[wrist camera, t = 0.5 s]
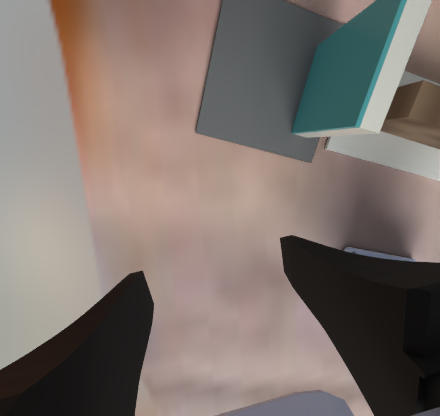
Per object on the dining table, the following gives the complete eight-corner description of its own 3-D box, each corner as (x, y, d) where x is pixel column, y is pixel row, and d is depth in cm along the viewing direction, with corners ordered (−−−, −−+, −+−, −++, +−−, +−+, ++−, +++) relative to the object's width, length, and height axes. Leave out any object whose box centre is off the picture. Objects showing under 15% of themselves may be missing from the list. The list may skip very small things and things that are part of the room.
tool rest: (520, 117, 23) (526, 117, 22) (480, 192, 25) (485, 193, 24) (356, 55, 19) (359, 53, 19) (324, 149, 21) (326, 149, 20)
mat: (353, 31, 18) (355, 29, 18) (309, 162, 21) (311, 162, 21) (226, -20, 16) (227, -23, 16) (195, 132, 19) (195, 132, 19)
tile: (334, 51, 18) (437, -14, 11) (306, 137, 20) (379, 133, 12) (317, 45, 18) (411, -27, 10) (290, 133, 20) (355, 126, 12)
